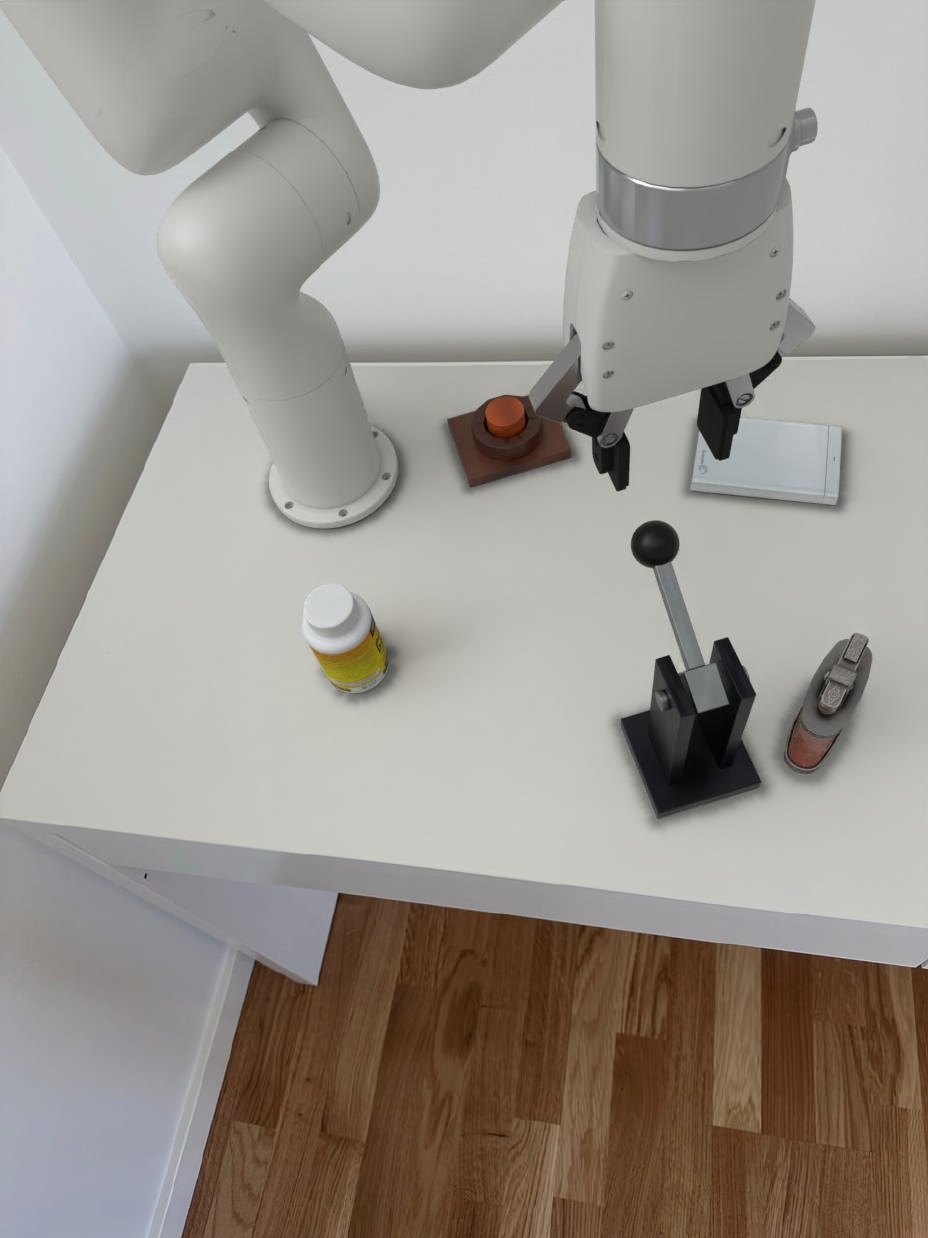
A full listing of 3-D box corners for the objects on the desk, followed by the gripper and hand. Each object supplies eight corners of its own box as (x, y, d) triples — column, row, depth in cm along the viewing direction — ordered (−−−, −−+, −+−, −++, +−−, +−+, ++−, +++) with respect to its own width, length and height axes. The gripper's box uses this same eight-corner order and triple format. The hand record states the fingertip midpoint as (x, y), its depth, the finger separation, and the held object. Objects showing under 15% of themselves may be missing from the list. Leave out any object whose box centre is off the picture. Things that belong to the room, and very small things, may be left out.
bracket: (620, 725, 72) (623, 642, 60) (716, 695, 72) (738, 607, 61) (657, 819, 68) (668, 750, 56) (759, 788, 68) (792, 712, 56)
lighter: (817, 782, 68) (848, 729, 59) (773, 761, 69) (797, 706, 61) (857, 695, 71) (892, 633, 62) (814, 677, 72) (843, 613, 63)
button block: (469, 487, 86) (465, 467, 83) (448, 427, 90) (444, 405, 87) (571, 457, 86) (570, 436, 84) (545, 398, 90) (544, 376, 88)
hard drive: (690, 481, 81) (839, 495, 78) (701, 411, 85) (843, 422, 82) (689, 492, 82) (835, 507, 80) (699, 423, 86) (839, 434, 83)
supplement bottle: (401, 677, 77) (375, 616, 68) (341, 707, 76) (307, 649, 67) (375, 627, 80) (347, 562, 71) (317, 655, 79) (281, 593, 70)
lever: (620, 533, 63) (628, 523, 59) (665, 519, 63) (675, 509, 60) (680, 716, 61) (691, 716, 58) (725, 702, 61) (739, 701, 58)
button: (493, 442, 85) (491, 430, 83) (482, 415, 87) (480, 402, 85) (530, 431, 85) (529, 419, 83) (519, 404, 87) (517, 391, 85)
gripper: (842, 67, 40) (775, 371, 55) (464, 177, 39) (503, 452, 55) (932, 165, 36) (832, 462, 51) (514, 288, 35) (541, 550, 51)
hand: (663, 455), depth 53 cm, fingers open, 5 cm apart
